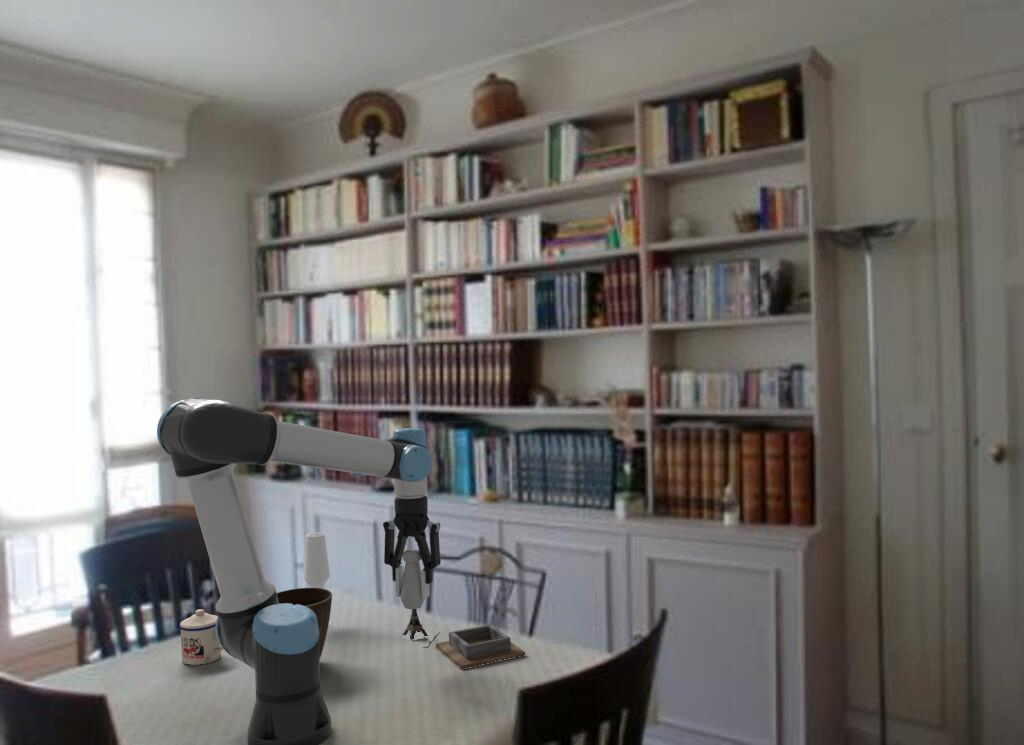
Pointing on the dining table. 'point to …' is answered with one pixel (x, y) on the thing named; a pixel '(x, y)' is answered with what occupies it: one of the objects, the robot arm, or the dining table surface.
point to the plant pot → (312, 606)
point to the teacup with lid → (199, 639)
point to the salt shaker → (412, 580)
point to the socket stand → (478, 646)
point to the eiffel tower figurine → (414, 625)
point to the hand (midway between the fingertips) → (412, 596)
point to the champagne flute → (316, 561)
